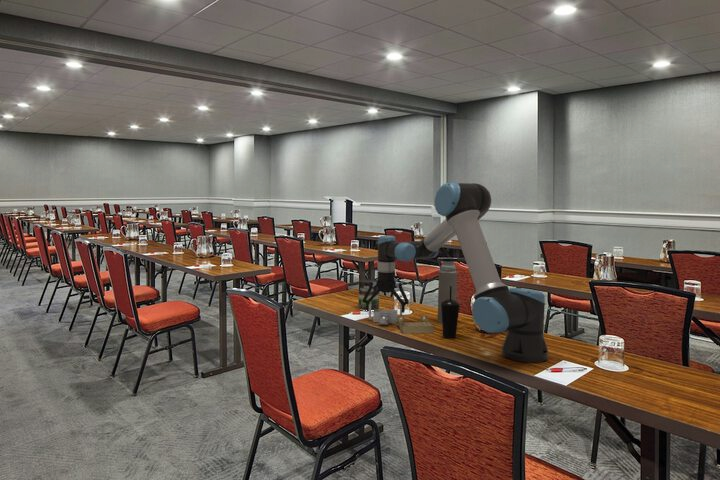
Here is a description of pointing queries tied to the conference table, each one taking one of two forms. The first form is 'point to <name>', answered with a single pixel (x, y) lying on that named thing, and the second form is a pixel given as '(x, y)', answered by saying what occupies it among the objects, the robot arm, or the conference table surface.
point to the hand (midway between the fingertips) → (385, 319)
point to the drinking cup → (450, 316)
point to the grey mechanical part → (385, 316)
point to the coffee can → (363, 289)
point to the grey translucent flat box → (415, 326)
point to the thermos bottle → (446, 283)
